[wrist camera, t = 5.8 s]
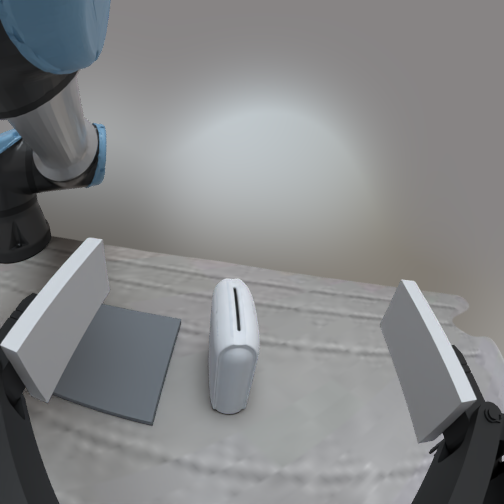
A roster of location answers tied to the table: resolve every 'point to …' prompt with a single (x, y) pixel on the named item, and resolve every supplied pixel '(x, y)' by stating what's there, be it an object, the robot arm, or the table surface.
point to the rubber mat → (121, 363)
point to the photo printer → (232, 346)
